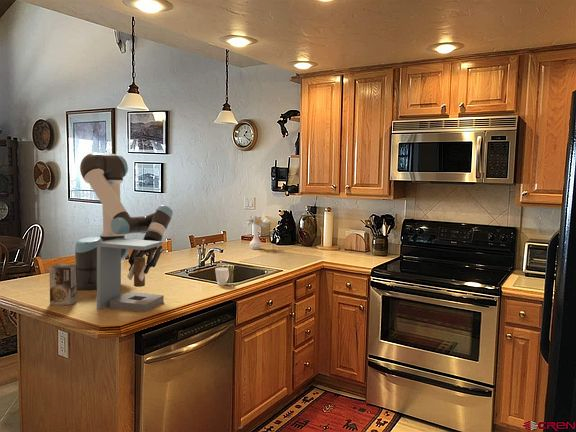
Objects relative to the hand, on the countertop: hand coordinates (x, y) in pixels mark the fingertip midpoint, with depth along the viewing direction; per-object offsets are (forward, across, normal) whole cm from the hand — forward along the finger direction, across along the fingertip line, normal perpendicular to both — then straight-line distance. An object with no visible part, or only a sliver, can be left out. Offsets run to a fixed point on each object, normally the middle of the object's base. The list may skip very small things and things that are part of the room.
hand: (134, 278), depth 198 cm
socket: (+6, 0, -10) cm, 12 cm away
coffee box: (+12, +30, -5) cm, 33 cm away
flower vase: (-111, -4, -128) cm, 169 cm away
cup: (-29, -20, -46) cm, 58 cm away
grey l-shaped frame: (+9, +2, -8) cm, 12 cm away
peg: (0, 0, -5) cm, 5 cm away
